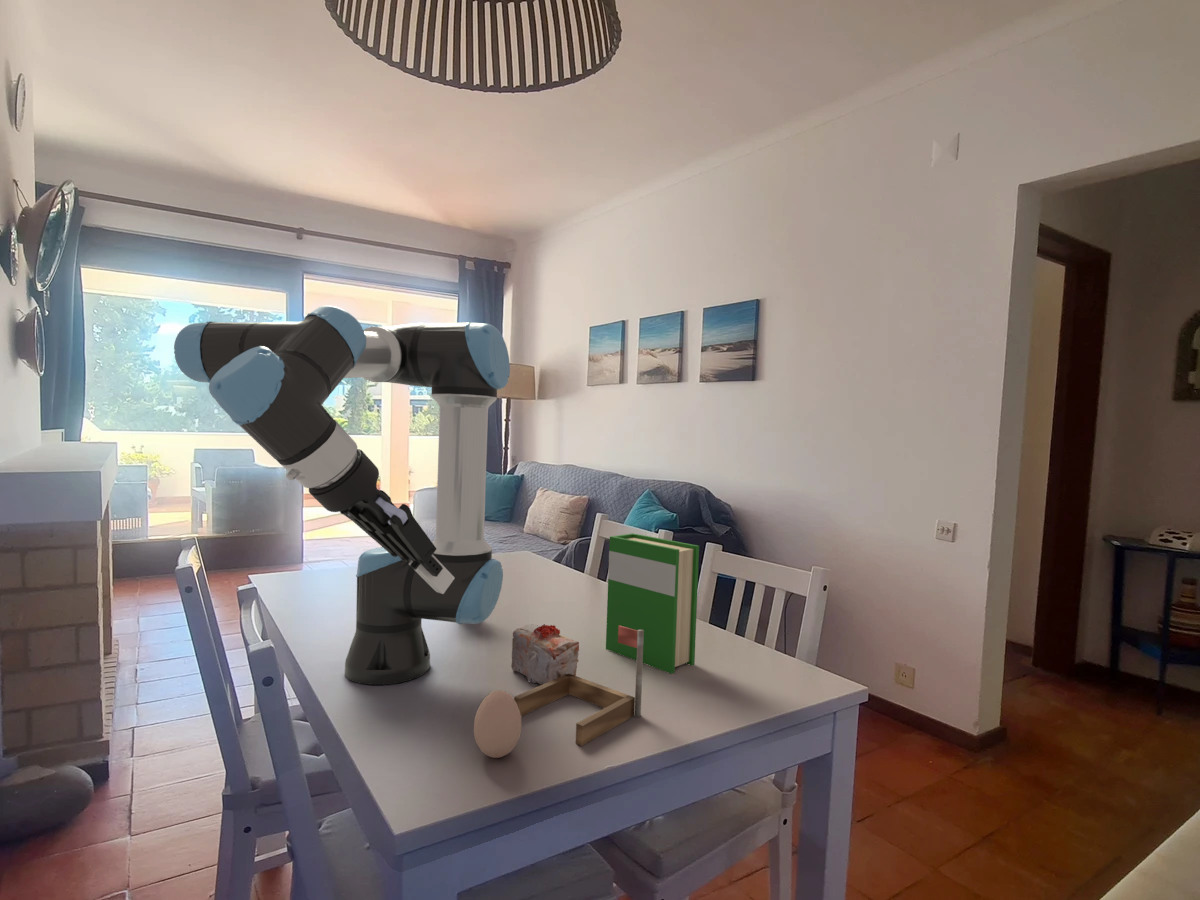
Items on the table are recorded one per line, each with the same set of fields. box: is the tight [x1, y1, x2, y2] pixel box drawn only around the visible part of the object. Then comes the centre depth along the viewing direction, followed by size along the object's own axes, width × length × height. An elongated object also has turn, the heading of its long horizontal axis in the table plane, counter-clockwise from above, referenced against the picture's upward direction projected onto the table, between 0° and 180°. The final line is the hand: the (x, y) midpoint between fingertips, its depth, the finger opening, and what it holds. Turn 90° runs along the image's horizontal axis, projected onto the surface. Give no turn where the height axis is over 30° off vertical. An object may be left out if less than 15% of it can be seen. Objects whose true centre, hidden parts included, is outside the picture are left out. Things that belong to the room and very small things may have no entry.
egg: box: [473, 689, 523, 759], centre depth 87 cm, size 7×7×9 cm
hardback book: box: [605, 532, 700, 674], centre depth 127 cm, size 18×7×24 cm, turn 45°
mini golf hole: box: [513, 626, 644, 747], centre depth 100 cm, size 15×14×14 cm
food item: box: [510, 624, 580, 685], centre depth 114 cm, size 14×8×10 cm, turn 46°
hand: (445, 584), depth 86 cm, fingers closed
